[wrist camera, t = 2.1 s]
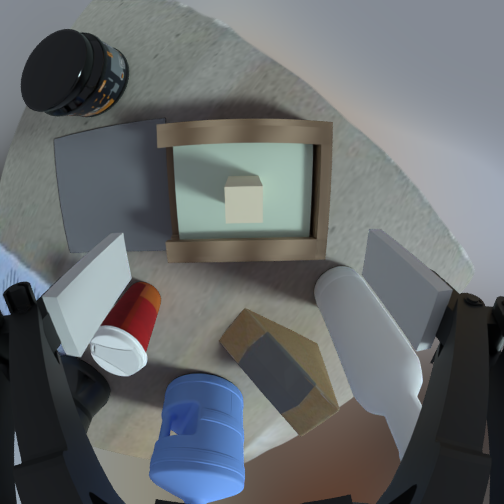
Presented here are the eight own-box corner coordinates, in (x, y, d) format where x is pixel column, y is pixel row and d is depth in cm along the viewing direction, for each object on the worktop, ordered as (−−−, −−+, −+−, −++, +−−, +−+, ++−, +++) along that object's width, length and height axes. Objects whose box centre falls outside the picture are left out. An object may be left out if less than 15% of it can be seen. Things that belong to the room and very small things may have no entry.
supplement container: (68, 124, 31) (15, 126, 20) (71, 59, 27) (22, 43, 16) (131, 110, 31) (86, 103, 20) (134, 41, 27) (95, 11, 16)
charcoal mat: (71, 251, 38) (70, 252, 38) (55, 139, 31) (54, 139, 31) (174, 249, 39) (174, 250, 38) (165, 118, 32) (164, 117, 31)
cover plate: (181, 245, 33) (166, 275, 26) (174, 134, 28) (153, 134, 21) (307, 242, 34) (324, 271, 26) (311, 132, 29) (333, 131, 21)
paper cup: (119, 307, 42) (86, 365, 29) (126, 268, 40) (85, 323, 27) (163, 323, 44) (141, 386, 31) (173, 285, 41) (148, 347, 28)
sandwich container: (244, 305, 43) (246, 378, 29) (319, 342, 46) (341, 409, 33) (217, 340, 45) (210, 412, 32) (289, 372, 49) (301, 438, 35)
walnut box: (180, 240, 38) (168, 262, 31) (173, 127, 32) (156, 124, 25) (310, 237, 39) (325, 259, 32) (315, 124, 33) (332, 122, 26)
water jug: (256, 384, 50) (264, 520, 24) (227, 422, 55) (225, 532, 29) (177, 360, 47) (148, 503, 21) (160, 403, 52) (137, 516, 27)
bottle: (304, 280, 41) (375, 473, 14) (351, 255, 40) (469, 421, 12) (324, 317, 44) (388, 488, 16) (367, 294, 43) (461, 448, 15)
